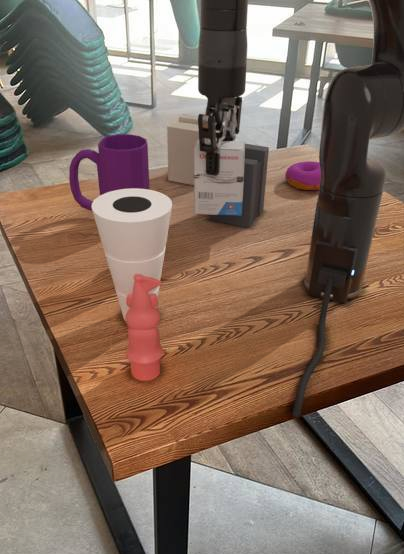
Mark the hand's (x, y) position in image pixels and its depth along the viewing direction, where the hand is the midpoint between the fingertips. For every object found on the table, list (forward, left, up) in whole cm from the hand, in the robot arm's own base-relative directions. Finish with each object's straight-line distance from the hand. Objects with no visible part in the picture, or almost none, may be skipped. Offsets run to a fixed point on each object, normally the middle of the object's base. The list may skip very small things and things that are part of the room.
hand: (219, 167), depth 99 cm
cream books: (+25, +16, -13) cm, 33 cm away
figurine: (-40, -6, -14) cm, 42 cm away
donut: (+32, -9, -14) cm, 36 cm away
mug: (-1, +22, -14) cm, 26 cm away
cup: (-29, +1, -14) cm, 32 cm away
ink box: (0, 0, -8) cm, 8 cm away
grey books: (+11, 0, -13) cm, 17 cm away
